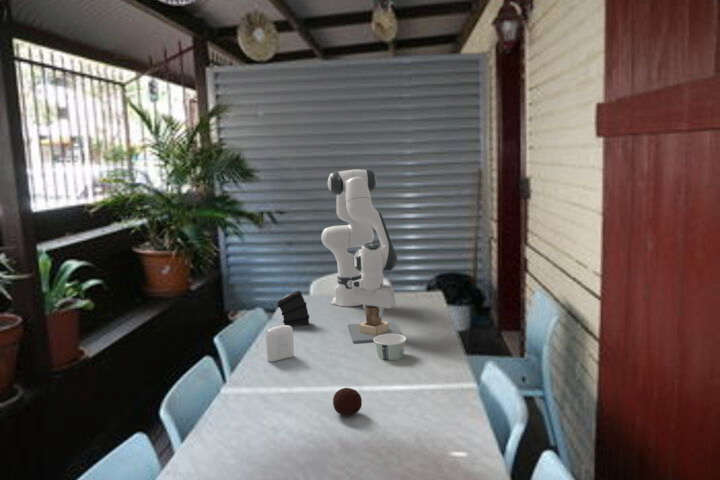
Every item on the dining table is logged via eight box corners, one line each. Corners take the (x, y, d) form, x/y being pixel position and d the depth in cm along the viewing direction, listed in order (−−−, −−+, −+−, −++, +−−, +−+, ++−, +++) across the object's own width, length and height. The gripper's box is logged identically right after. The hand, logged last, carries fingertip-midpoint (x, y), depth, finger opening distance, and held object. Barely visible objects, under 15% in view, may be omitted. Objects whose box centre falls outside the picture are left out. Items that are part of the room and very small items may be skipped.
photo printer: (290, 353, 221) (288, 322, 219) (296, 356, 218) (294, 324, 216) (265, 359, 216) (263, 327, 214) (270, 363, 212) (268, 330, 210)
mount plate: (347, 326, 252) (347, 317, 251) (393, 323, 254) (393, 314, 254) (353, 343, 230) (352, 333, 230) (403, 339, 233) (402, 329, 232)
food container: (404, 362, 208) (404, 344, 207) (371, 361, 210) (370, 343, 209) (408, 350, 220) (408, 334, 219) (377, 349, 222) (376, 333, 221)
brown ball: (344, 405, 175) (343, 380, 173) (369, 413, 169) (368, 387, 168) (326, 415, 168) (325, 389, 167) (350, 423, 163) (349, 397, 161)
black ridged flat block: (315, 321, 257) (299, 291, 254) (289, 334, 257) (272, 305, 255) (316, 318, 260) (299, 289, 258) (290, 332, 261) (273, 303, 258)
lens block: (366, 323, 241) (365, 307, 240) (373, 321, 245) (372, 304, 244) (375, 325, 238) (374, 308, 237) (381, 322, 242) (381, 306, 241)
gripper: (398, 284, 235) (399, 317, 237) (358, 279, 248) (359, 310, 250) (388, 287, 230) (389, 321, 232) (348, 281, 243) (350, 314, 245)
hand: (373, 315), depth 241 cm, fingers closed on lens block, 4 cm apart
